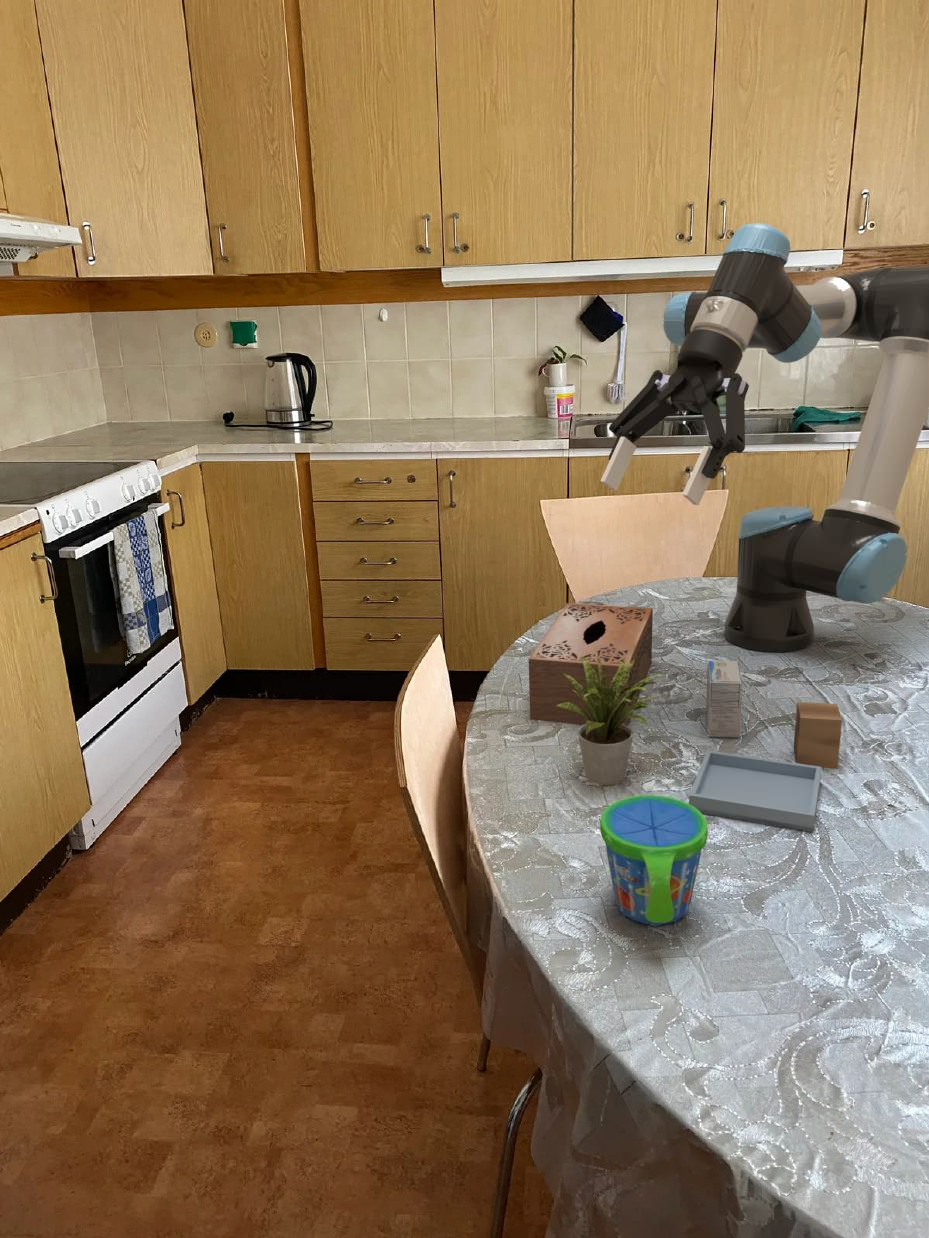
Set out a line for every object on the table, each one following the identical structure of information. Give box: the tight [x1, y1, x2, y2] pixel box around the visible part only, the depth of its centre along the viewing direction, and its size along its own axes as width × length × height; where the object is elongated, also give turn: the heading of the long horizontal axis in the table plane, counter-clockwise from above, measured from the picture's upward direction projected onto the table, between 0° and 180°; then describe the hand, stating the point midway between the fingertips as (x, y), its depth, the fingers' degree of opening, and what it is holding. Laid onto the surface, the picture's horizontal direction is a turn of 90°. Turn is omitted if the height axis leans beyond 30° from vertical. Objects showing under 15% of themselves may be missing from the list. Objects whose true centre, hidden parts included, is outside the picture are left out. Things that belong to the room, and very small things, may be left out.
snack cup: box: [599, 794, 709, 927], centre depth 95 cm, size 16×10×10 cm
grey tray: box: [688, 749, 823, 833], centre depth 116 cm, size 12×14×2 cm
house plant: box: [557, 657, 668, 786], centre depth 119 cm, size 14×14×16 cm
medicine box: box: [705, 660, 743, 739], centre depth 133 cm, size 8×4×9 cm, turn 168°
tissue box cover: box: [528, 602, 654, 727], centre depth 147 cm, size 26×14×10 cm, turn 162°
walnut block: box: [792, 701, 843, 770], centre depth 124 cm, size 5×5×7 cm
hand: (647, 493), depth 118 cm, fingers open, 13 cm apart
